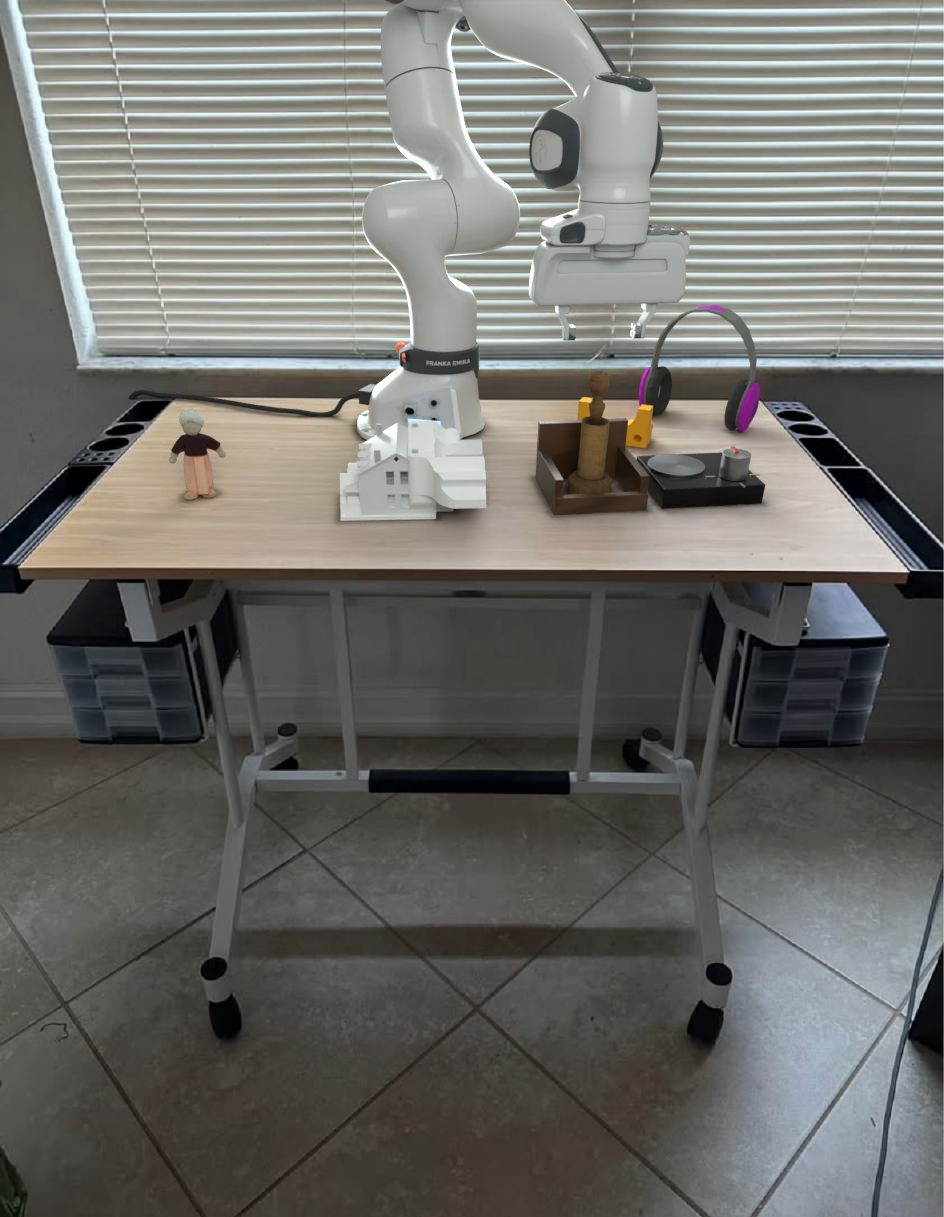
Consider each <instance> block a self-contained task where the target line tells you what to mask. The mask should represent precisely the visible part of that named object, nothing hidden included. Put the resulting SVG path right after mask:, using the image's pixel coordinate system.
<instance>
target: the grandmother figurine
mask: <svg viewBox="0 0 944 1217" xmlns="http://www.w3.org/2000/svg"><path fill="white" fill-rule="evenodd" d="M178 420H179V421H178V423H179V424H180V426H181V428H182V431H183V432H184V434H182V435H180V436H179V437H178V438H177V440H176V441H175V443H174V444H173V446H172V448H171V449H170V450H171V451H170V453H169V454H170V455H169V456H170V457H169V458H168V462H169V463H170V464H172V465H173V464H176V463H177V459H178V457H179V454H181V453H183V473H184V482H185V488H186V491H187V492H186V493H185V494H184V495H183V499H184V500H189V501H191V500H196V499H198V498H199V495H201V496H202V498H206V499H210V498H214V497H216V496H217V492H216V491H215V490H214V488H215V483H214V472H213V466H212V462H211V457H210V454H209V453H208V450H211V451H215V453H217V455H218V457H219V458H222V459H223V458H225V457H226V455H227V452H226V451H224V449H223V447H222V446H221V444H222V443H221V442H220V441H218V440H217V439H216V438H214V437H212V436H210V435H207V434H206V433H201V432H202V428H203V427H204V425H205V420H204V417H203V416H202V415H201V414H200V413H199V412H197V411H195V410H193V409H186V410H182V412H181V413H180V415H179V417H178Z"/></svg>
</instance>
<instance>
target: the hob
mask: <svg viewBox="0 0 944 1217" xmlns="http://www.w3.org/2000/svg"><path fill="white" fill-rule="evenodd" d="M722 452H723V451H721V452H700V453H699V452H698V453H678V455H685V456H689V457H693V458H696V459H698V460H700V461H701V462H703V463H704V465H705V471H704V472H703V473H702V474H701V475H698V476H694V477H687V478H678V477H670V476H665V475H661V474H658V473H656V472H654V471H652V470H651V469H650V468H649V467H648V460H649V459H650V458H652V457H654V456H657V455H658V454H654V455H652V454H651V455H637V456H636V460H637V461H638V463H639V464H640V465H641V466H642V468H643V469H644V470H645V471H646V473H647V474H648V475H649V483H648V490H647V492H648V494H650V495H651V497H652V498H653V499H654V500H655V501H656V503H657V505H658V506H659V507H660V508H661V510H666V509H685V508H705V507H725V506H726V507H727V506H744V505H762V504H763V499H764V494H765V490H766V483H764V482H763V481H762V480H761V479H760V478H759V477H758V476H761V474H760V473H753V471H751V470H750V469H749V470H748V475H747V479H746V480H743V481H729V480H725V479H723V478H721V477H720V476H719V470H720V464H721V458H722Z"/></svg>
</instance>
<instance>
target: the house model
mask: <svg viewBox="0 0 944 1217" xmlns="http://www.w3.org/2000/svg"><path fill="white" fill-rule="evenodd" d="M358 450H360V451H357V459H359V460H356V461H355V462H353V461H352V462H348V464H347V469H346V472H339V509H340V511H339V512H340V522H351V521H353V522H354V521H355V522H356V521H403V520H407V521H409V520H411V521H412V520H436V519H437V513H441V512H442V513H443V512H446V513H447V512H454V509H457V510H458V509H461V510H462V509H487V471H486V462H485V461H486V460H485V459H486V458H485V456H484V450H483V440H482V439H460V436H459V431H458V430H456V429H454V428H448V429H446V430H445V429H444V428H443V427H442V426H441V425H440V424H439V423H438V422H437V421H436V420H435V421H434V422H433V421H408V428H406V427H404V426H402V425H400V424H398V423H396V424H395V425H393V426H391V427H389V428H388V429H386V430H384V431H383V424H377V435H376V436H374V437H372V438H370V439H369V440H365V441H363V442H362V443H358Z"/></svg>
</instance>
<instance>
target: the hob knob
mask: <svg viewBox="0 0 944 1217" xmlns="http://www.w3.org/2000/svg"><path fill="white" fill-rule="evenodd" d="M721 452H722V458H721V464H720V470H719V476H720V477H721V478H723V479H725V480H729V481H743V480H746V479H747V475H748V470H750V464H751V460H752V453H751V452H750V451H748V450H745V449H743V448H736V446H734V445H733V446H730V448H725V449H723V450H722V451H721Z"/></svg>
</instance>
